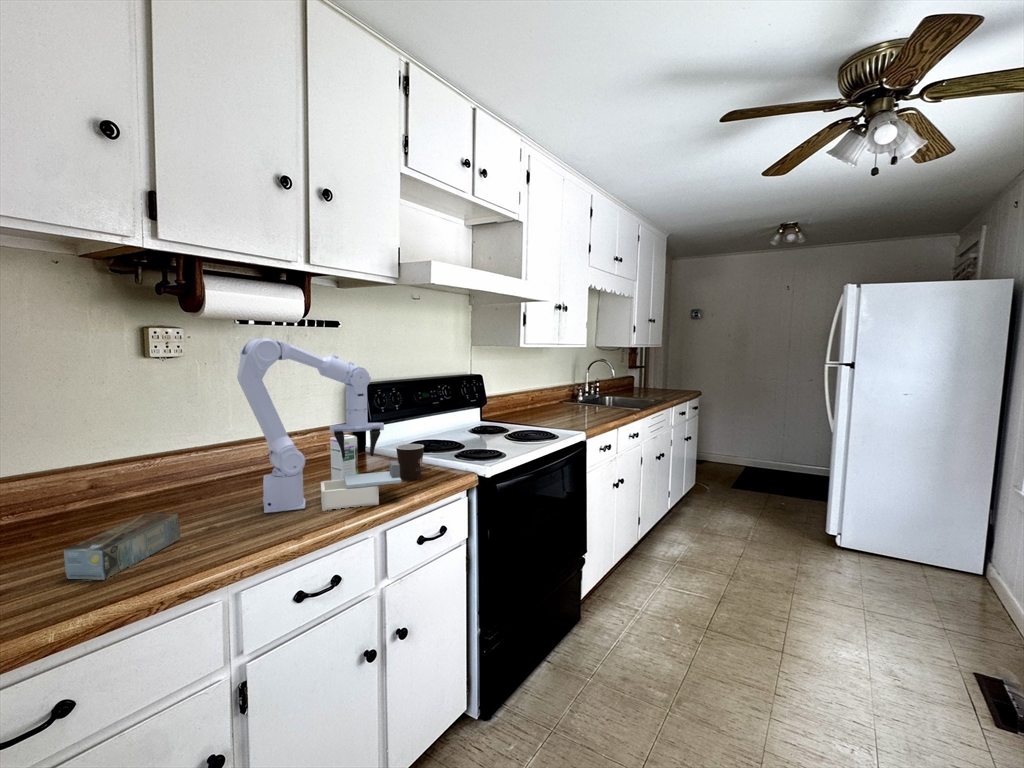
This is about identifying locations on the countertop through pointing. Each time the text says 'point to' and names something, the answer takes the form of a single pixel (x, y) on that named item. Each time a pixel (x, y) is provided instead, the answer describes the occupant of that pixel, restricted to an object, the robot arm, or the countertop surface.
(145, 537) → the beverage carton
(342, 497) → the carton
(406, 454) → the coffee mug
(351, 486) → the carton lid
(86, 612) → the countertop surface
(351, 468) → the syrup box
